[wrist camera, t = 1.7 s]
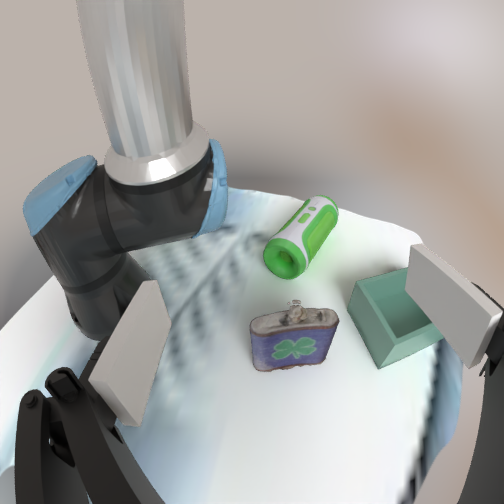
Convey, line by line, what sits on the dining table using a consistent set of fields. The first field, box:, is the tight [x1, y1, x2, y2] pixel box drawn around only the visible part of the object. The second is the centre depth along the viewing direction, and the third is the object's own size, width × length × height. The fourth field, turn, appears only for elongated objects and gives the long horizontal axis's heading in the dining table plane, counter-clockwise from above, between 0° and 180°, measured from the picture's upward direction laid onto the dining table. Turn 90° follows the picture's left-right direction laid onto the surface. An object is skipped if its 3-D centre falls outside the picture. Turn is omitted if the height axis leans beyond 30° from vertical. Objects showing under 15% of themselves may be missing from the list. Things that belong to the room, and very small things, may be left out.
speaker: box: [263, 195, 338, 279], centre depth 46 cm, size 18×7×8 cm, turn 147°
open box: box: [347, 267, 444, 369], centre depth 32 cm, size 10×13×6 cm
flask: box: [250, 300, 340, 372], centre depth 29 cm, size 9×3×11 cm, turn 95°
